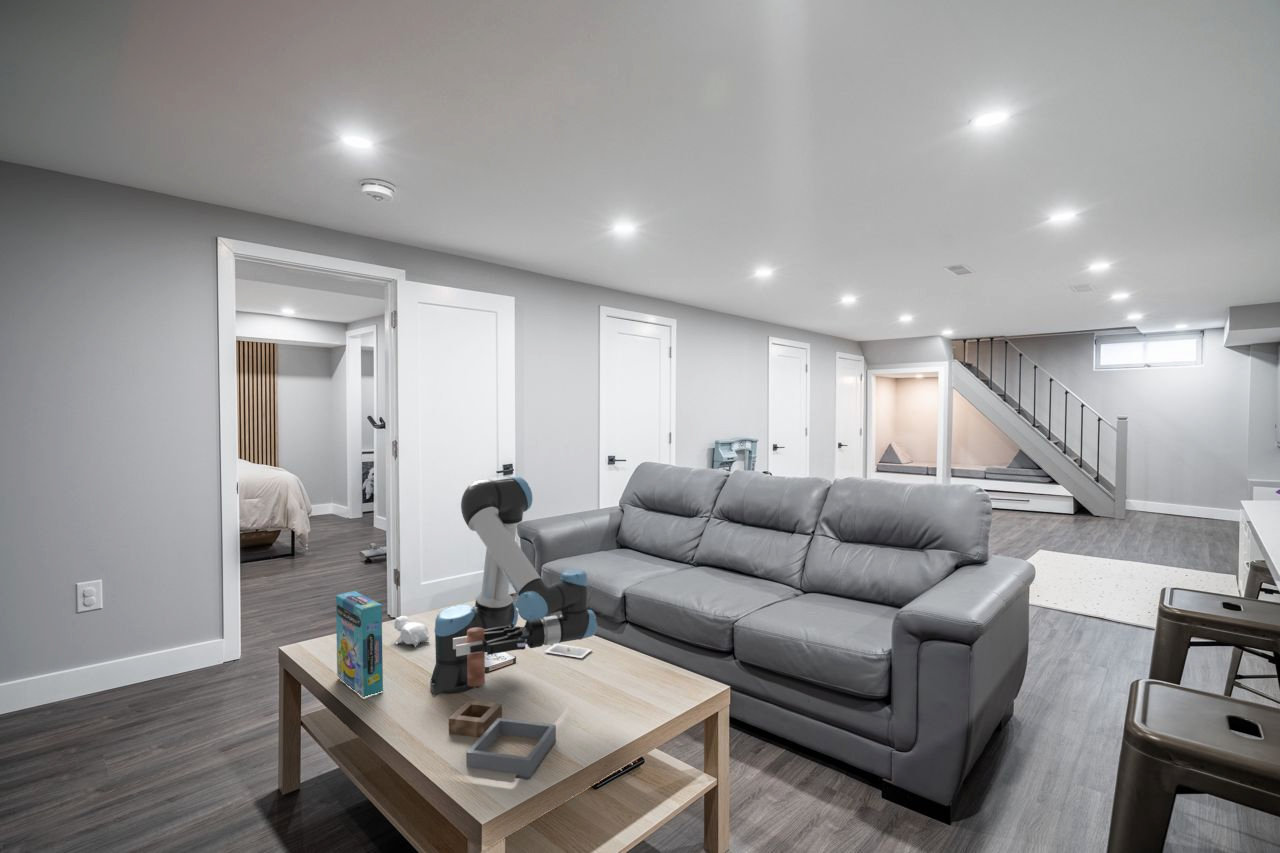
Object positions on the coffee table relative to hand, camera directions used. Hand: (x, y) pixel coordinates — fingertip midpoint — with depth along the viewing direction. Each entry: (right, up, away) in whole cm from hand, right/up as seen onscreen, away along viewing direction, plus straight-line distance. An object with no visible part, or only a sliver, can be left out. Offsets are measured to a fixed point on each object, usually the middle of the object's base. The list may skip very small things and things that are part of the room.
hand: (454, 647), depth 153 cm
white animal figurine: (-37, -23, +65) cm, 78 cm away
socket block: (+5, -23, +3) cm, 24 cm away
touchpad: (+23, -23, +53) cm, 62 cm away
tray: (+17, -23, -9) cm, 30 cm away
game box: (-39, -23, +29) cm, 54 cm away
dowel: (+5, -10, +3) cm, 12 cm away
